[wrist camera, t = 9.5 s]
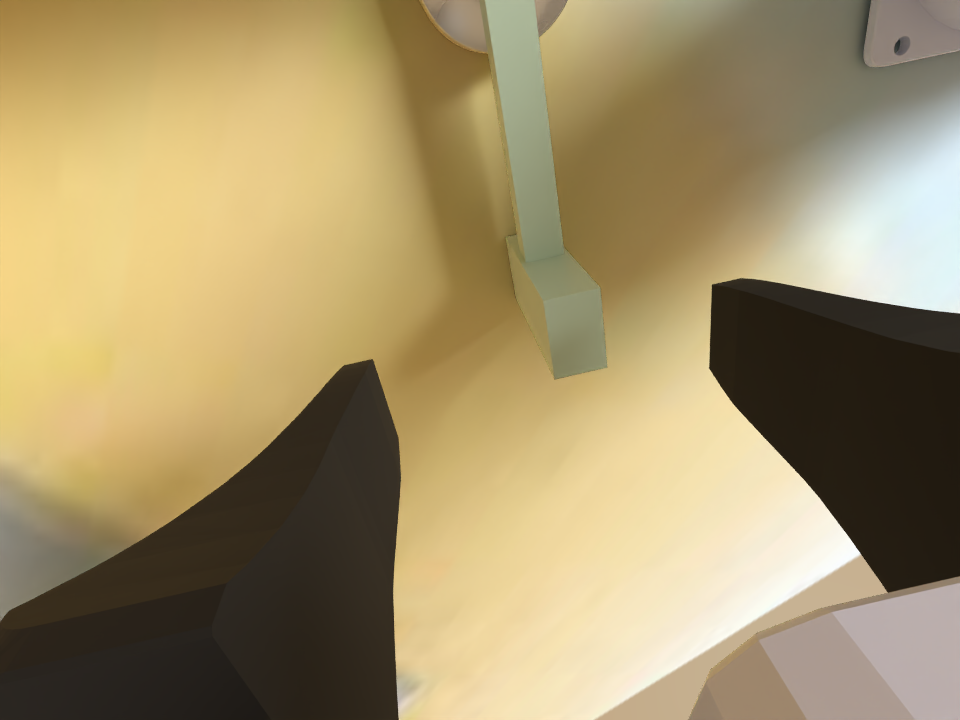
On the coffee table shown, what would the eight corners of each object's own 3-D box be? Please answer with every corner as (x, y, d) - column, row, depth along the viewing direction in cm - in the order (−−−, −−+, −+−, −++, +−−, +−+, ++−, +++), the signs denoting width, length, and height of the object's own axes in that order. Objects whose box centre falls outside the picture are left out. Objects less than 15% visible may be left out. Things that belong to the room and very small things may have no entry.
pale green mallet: (539, -195, 14) (622, -360, 8) (587, 282, 20) (651, 357, 15) (386, -162, 14) (374, -307, 8) (483, 306, 20) (510, 389, 15)
